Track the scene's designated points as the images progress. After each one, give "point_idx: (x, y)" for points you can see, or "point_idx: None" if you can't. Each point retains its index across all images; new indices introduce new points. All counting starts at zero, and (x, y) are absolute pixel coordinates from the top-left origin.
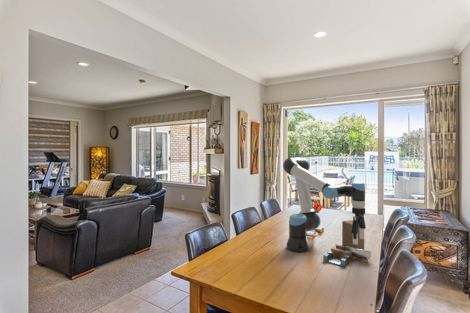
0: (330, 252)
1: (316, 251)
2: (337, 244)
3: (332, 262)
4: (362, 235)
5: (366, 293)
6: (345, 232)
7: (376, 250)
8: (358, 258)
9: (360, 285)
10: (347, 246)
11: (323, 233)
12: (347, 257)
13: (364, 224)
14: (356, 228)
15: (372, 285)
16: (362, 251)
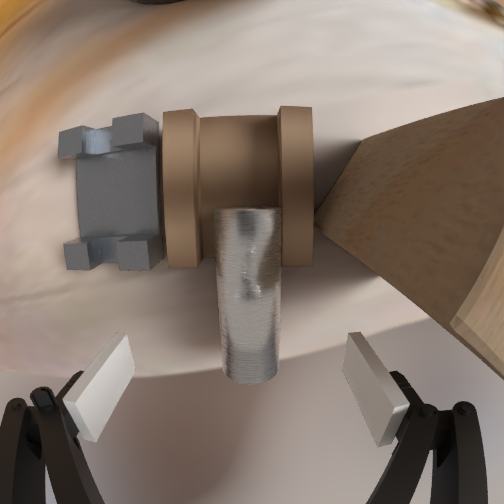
0: (120, 136)
1: (204, 29)
2: (309, 110)
3: (78, 189)
4: (356, 379)
5: (13, 360)
6: (423, 155)
7: None
8: None
9: (25, 344)
10: (238, 224)
11: (492, 28)
12: (119, 264)
13: (433, 471)
14: (33, 474)
15: (52, 374)
16: (227, 343)
